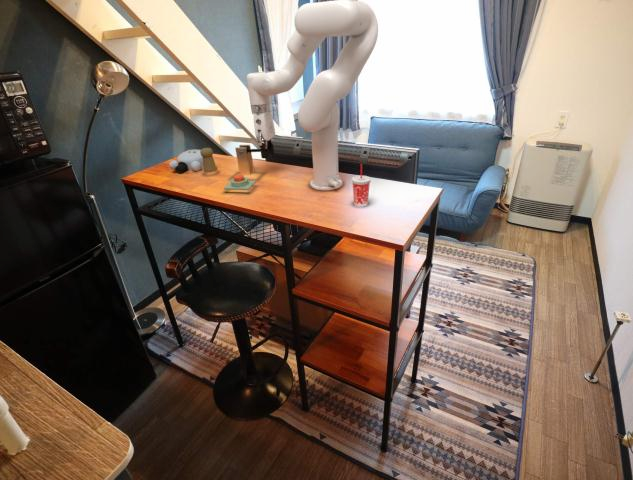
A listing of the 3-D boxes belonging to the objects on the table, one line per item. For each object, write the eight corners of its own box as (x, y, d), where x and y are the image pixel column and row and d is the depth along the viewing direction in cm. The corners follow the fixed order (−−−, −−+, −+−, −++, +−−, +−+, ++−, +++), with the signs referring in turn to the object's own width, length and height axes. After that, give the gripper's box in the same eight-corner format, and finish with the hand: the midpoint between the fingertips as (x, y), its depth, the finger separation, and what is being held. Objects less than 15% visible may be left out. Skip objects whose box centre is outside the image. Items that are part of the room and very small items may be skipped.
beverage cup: (348, 202, 117) (348, 162, 110) (364, 198, 119) (364, 159, 112) (357, 209, 113) (357, 168, 105) (373, 205, 115) (374, 164, 107)
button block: (256, 185, 136) (255, 176, 134) (249, 193, 129) (247, 183, 127) (233, 185, 138) (231, 175, 136) (224, 193, 131) (222, 183, 129)
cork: (220, 170, 154) (215, 146, 148) (215, 175, 149) (209, 150, 143) (207, 171, 155) (201, 146, 149) (202, 175, 150) (196, 150, 144)
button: (245, 179, 133) (244, 174, 132) (241, 182, 130) (241, 178, 129) (236, 178, 133) (236, 174, 133) (233, 182, 130) (232, 177, 130)
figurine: (190, 160, 168) (165, 179, 153) (184, 143, 163) (158, 161, 148) (221, 162, 164) (198, 181, 149) (216, 144, 159) (192, 163, 143)
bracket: (264, 173, 148) (260, 143, 142) (257, 180, 141) (252, 149, 134) (238, 172, 151) (233, 143, 144) (230, 179, 143) (224, 149, 137)
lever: (270, 151, 141) (269, 145, 139) (266, 154, 136) (265, 148, 135) (243, 151, 143) (242, 146, 142) (238, 155, 139) (237, 149, 138)
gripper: (262, 112, 122) (270, 162, 131) (277, 104, 136) (283, 149, 145) (243, 113, 124) (251, 162, 133) (259, 105, 138) (266, 150, 147)
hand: (268, 155), depth 139 cm, fingers closed on lever, 5 cm apart
